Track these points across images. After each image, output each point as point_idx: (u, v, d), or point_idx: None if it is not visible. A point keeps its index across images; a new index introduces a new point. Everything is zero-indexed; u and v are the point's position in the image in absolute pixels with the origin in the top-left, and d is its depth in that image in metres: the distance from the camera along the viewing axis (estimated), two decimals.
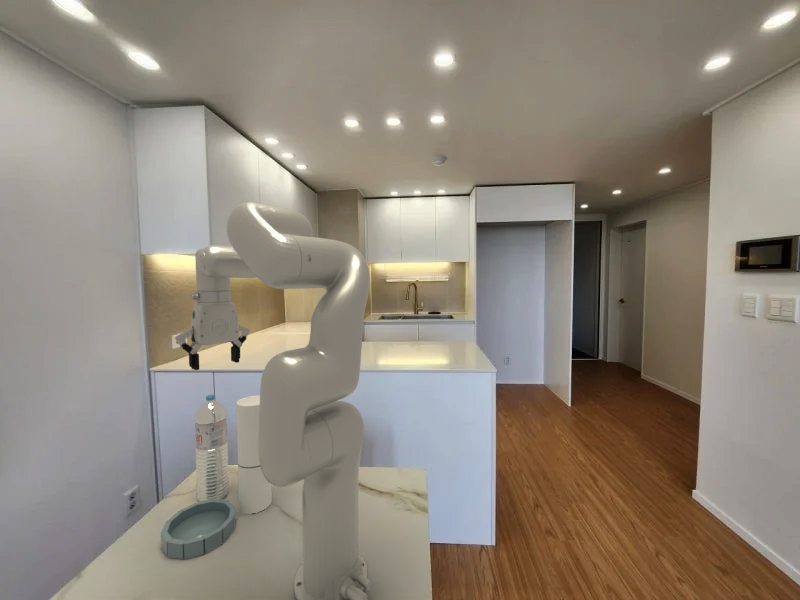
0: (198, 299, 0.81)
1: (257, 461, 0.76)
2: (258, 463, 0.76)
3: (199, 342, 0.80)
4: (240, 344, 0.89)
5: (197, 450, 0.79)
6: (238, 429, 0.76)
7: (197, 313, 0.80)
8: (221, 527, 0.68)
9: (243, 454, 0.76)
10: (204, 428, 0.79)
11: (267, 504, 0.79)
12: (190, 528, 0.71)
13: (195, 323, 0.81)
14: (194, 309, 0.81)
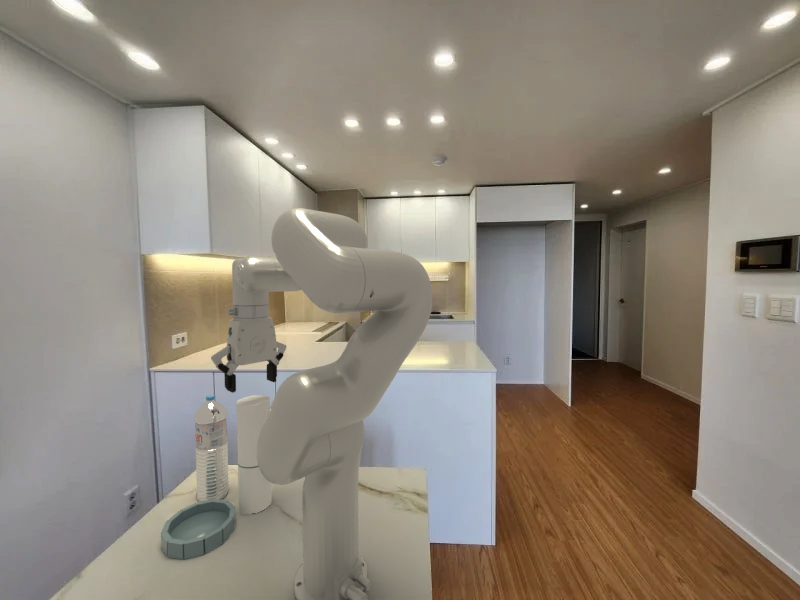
0: (235, 314, 0.74)
1: (257, 461, 0.76)
2: None
3: (236, 362, 0.73)
4: (277, 362, 0.82)
5: (197, 450, 0.79)
6: (238, 429, 0.76)
7: (235, 330, 0.73)
8: (221, 527, 0.68)
9: (243, 454, 0.76)
10: (204, 428, 0.79)
11: (267, 504, 0.79)
12: (190, 528, 0.71)
13: (232, 341, 0.73)
14: (231, 325, 0.74)
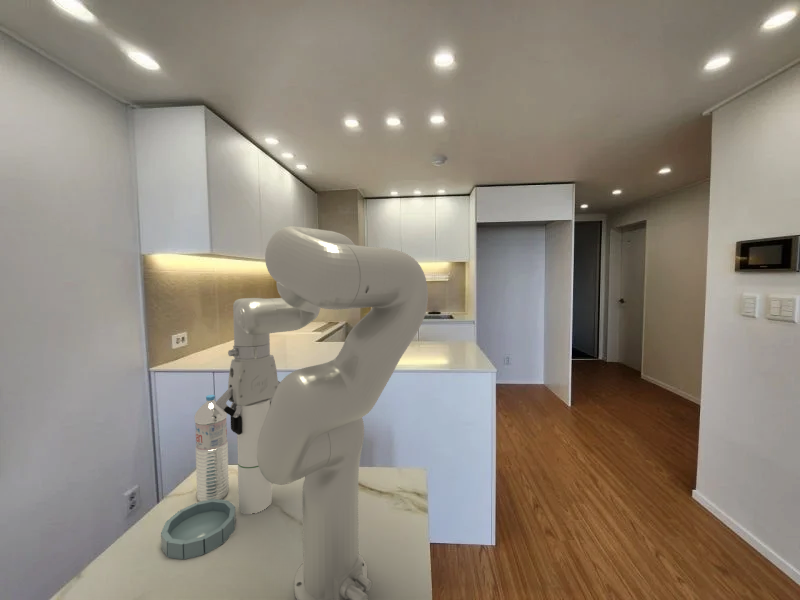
0: (237, 355, 0.74)
1: (257, 461, 0.76)
2: None
3: (238, 404, 0.73)
4: None
5: (197, 450, 0.79)
6: None
7: (236, 371, 0.73)
8: (221, 527, 0.68)
9: (243, 454, 0.76)
10: (204, 428, 0.79)
11: (267, 504, 0.79)
12: (190, 528, 0.71)
13: (234, 382, 0.73)
14: (232, 366, 0.74)
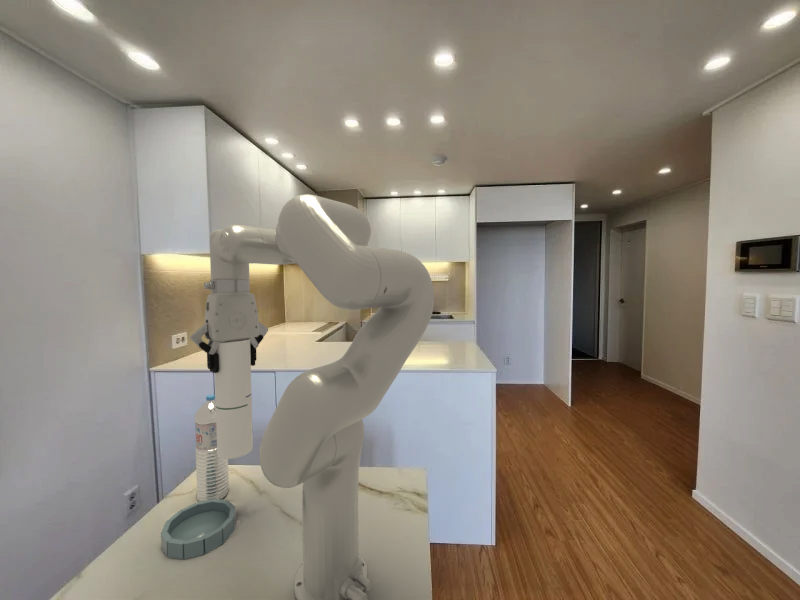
0: (213, 288, 0.70)
1: (235, 402, 0.72)
2: (236, 404, 0.72)
3: (214, 339, 0.69)
4: (256, 344, 0.77)
5: (197, 450, 0.79)
6: None
7: (212, 304, 0.69)
8: (221, 527, 0.68)
9: (220, 394, 0.71)
10: (204, 428, 0.79)
11: (247, 450, 0.74)
12: (190, 528, 0.71)
13: (209, 316, 0.69)
14: (208, 300, 0.70)
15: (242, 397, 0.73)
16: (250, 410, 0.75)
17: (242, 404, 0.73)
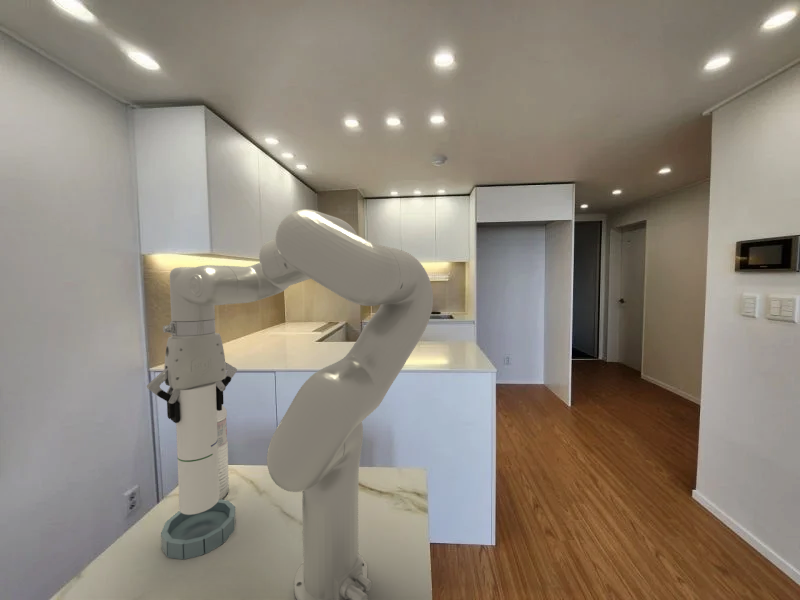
0: (173, 332, 0.65)
1: (198, 453, 0.67)
2: (199, 456, 0.67)
3: (173, 387, 0.64)
4: (223, 387, 0.72)
5: None
6: None
7: (171, 350, 0.64)
8: (221, 527, 0.68)
9: (181, 445, 0.66)
10: None
11: (212, 503, 0.69)
12: (190, 528, 0.71)
13: (169, 362, 0.64)
14: (168, 344, 0.65)
15: (206, 447, 0.68)
16: (216, 459, 0.70)
17: (206, 455, 0.68)
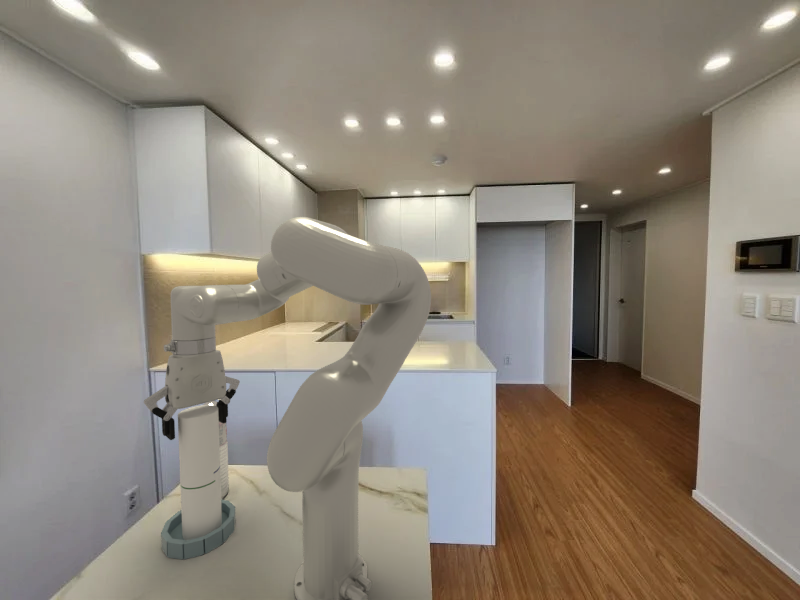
0: (174, 350, 0.65)
1: (201, 481, 0.67)
2: (202, 483, 0.67)
3: (174, 406, 0.64)
4: (228, 400, 0.73)
5: None
6: (179, 445, 0.67)
7: (172, 369, 0.64)
8: (221, 527, 0.68)
9: (184, 473, 0.66)
10: None
11: (215, 529, 0.69)
12: None
13: (169, 381, 0.64)
14: (168, 363, 0.65)
15: (209, 474, 0.68)
16: (218, 485, 0.70)
17: (209, 481, 0.68)
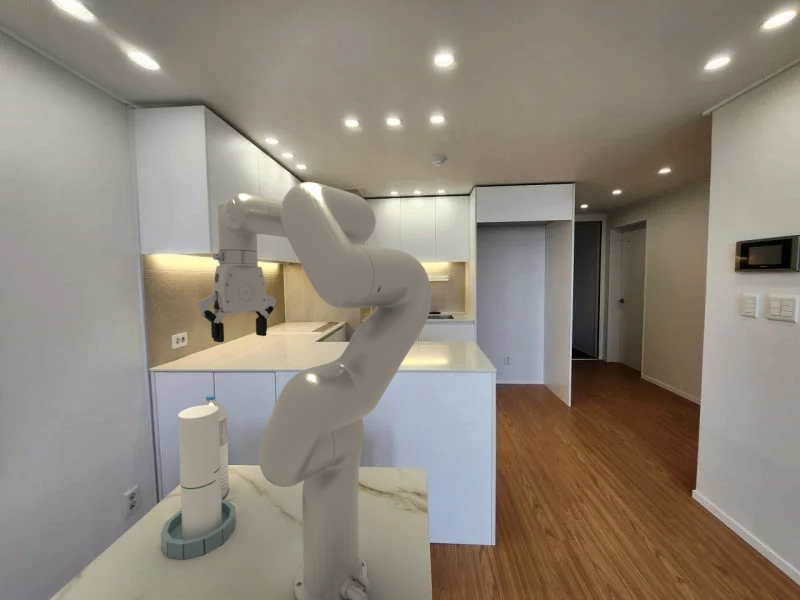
0: (222, 259, 0.70)
1: (201, 481, 0.67)
2: (203, 483, 0.67)
3: (224, 309, 0.69)
4: (267, 315, 0.78)
5: None
6: (180, 444, 0.67)
7: (222, 275, 0.69)
8: (221, 527, 0.68)
9: (185, 473, 0.67)
10: None
11: (215, 529, 0.69)
12: None
13: (219, 287, 0.69)
14: (217, 271, 0.70)
15: (209, 474, 0.68)
16: (218, 485, 0.70)
17: (209, 481, 0.68)
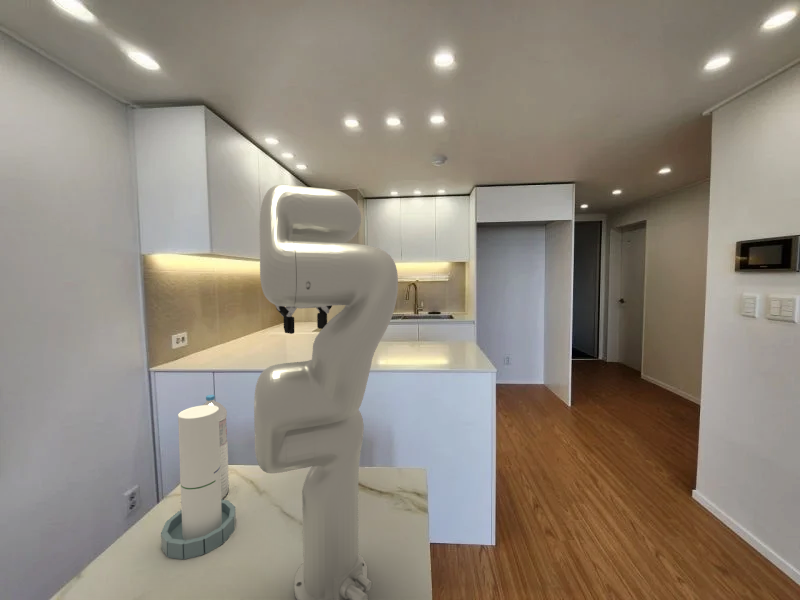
0: None
1: (201, 481, 0.67)
2: (203, 483, 0.67)
3: None
4: (327, 310, 0.88)
5: None
6: (180, 444, 0.67)
7: None
8: (221, 527, 0.68)
9: (185, 473, 0.66)
10: None
11: (215, 529, 0.69)
12: None
13: None
14: None
15: (209, 474, 0.68)
16: (218, 485, 0.70)
17: (209, 481, 0.68)
